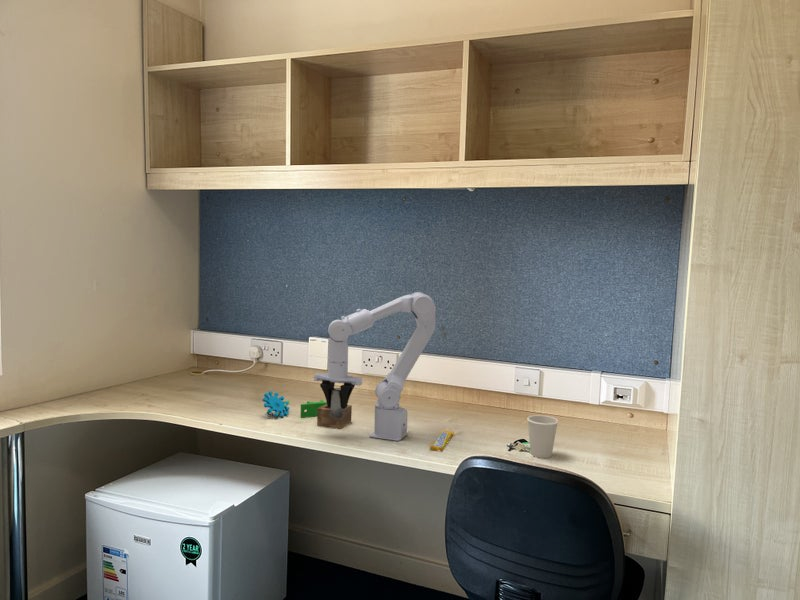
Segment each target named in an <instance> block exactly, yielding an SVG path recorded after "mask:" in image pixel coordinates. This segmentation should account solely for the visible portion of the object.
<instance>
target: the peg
mask: <svg viewBox="0 0 800 600" xmlns="http://www.w3.org/2000/svg"><path fill="white" fill-rule="evenodd" d="M330 417H332V418H342V417H344V409H342V394H341V388H340V387H334V388H332V389H331V399H330Z"/></svg>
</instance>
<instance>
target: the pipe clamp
mask: <svg viewBox="0 0 800 600" xmlns="http://www.w3.org/2000/svg"><path fill="white" fill-rule="evenodd" d="M325 404H327V401H324V400H322V399H320V400H319V401H309V400H307V402H306V403H300V418H301V419H306V417H307V418H317V417H316V416H317V408H319V407H321V406H323V405H325Z"/></svg>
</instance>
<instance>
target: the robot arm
mask: <svg viewBox="0 0 800 600" xmlns="http://www.w3.org/2000/svg"><path fill="white" fill-rule="evenodd" d="M436 309H437V308H436V305H435V302H434V300H433V298H432V297H431V296H430V295H428V294H425V293H423V292H421V291H420V292H419V291H416V292H413V293H411V294H406V295H405V294H404V295H403V296H400V297H398V298H395V299H394V300H391V301H389V302H386V303H384V304H383V305H380V306H378V307H376V308H374V309H372V310H368V309H366V308H362V309H361V308H358V309H356V312H354V313H350V314H348V315H346V316H345V315H342V316H341V317H340V319H335V320H333V321H331V322H330V323H329V325H328V328H327V332H328V334H329V338H328V347H327V348H328V350H327V351H328V353H327V359H328V360H327V361H328V362H327V373H314V375H313V381H314V382H321V383H320V384H319V386H320V389H321V390H322V392H323V394H324V397H325V400H326V401H325V402H327V406H328V407H330V399H331V389H332V388H335V385H336V384H342V385H340V387H339V388H341V394H342V409H345V408H347V405H349V404H348V403H349V401H350V397H351V395H352V392H353V391H354V388H355V386H357V387H359V386H361V385H362V384H363V378H362V377H358V376H352V375H349V372H348V369H349V346H348V338H349V337H350V336H354V335H356V334H358V333H361V332H362V331H365V330H367V329H371V328H372V327H373V326H374V323H375V322H376V321H377V320H378V321H379V320H381V319H384V318H386V317H389V316H392V315H395V314H397V313H398V312H402V313H403V312H404V313H408V314H409V313H410V314H411V313H412V315H413V317H414V321H415V323H416V328H415V330H414V332H413V333H412V335H411V337H410V338H409V340H408V341H407V343H406V345H405V346H404V348H403V350H402V352H401V353H400V355H399V357H398V358H397V360H396V362H395V363H394V365H393V367H392V368H391V370H390V372H389V373H388V374H386V375H385V377H384V379H383V380H381V381H380V382H378V383H377V385H376V386H375V390H374V393H375V396H376V397H377V398H378V399H377V401H376V402H375V403H374V425H373V426H374V427H373V428H374V429H373V432H371V433H370V434H369V438H376V439H380V440H381V439H383V440H388V441H389V440H390V441H396V442H398V441H399V442H400V441H401V440H402V439H404V437H406V435H408V434H409V433H408V409H407V408H405V407H401V406H400V401H401V393H402V392H403V390H404V388H405V387H404V386H405V382H406V380H407V378H408V376H409V375H410V373H411V371H412V369H413V368H414V366H415V364H416V363H417V362H418V360H419V358H420V357H421V354H422V353H423V351H424V350H425V348H426V346H427V344H428V342H429V341H430V339H431V338H432V335H433V334H434V332H435V330H436V312H437V311H436ZM335 383H336V384H335Z"/></svg>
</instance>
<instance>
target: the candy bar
mask: <svg viewBox="0 0 800 600" xmlns="http://www.w3.org/2000/svg"><path fill="white" fill-rule="evenodd" d="M454 435H455V431H452V430H451V431H450V430H441V431H440V434H439V435H438V437H437V438H436V439H435V442H434V443H433V444H430V446H429V450H430V451H434V450H440V451H439V452H443V451H444V449H445V448H446V446H447V445H448V443H449V442H450V440H451V439H452V437H453V436H454ZM450 438H451V439H450ZM449 439H450V440H449ZM448 441H449V442H448ZM447 442H448V443H447ZM446 444H447V445H446ZM444 447H445V448H444Z"/></svg>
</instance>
